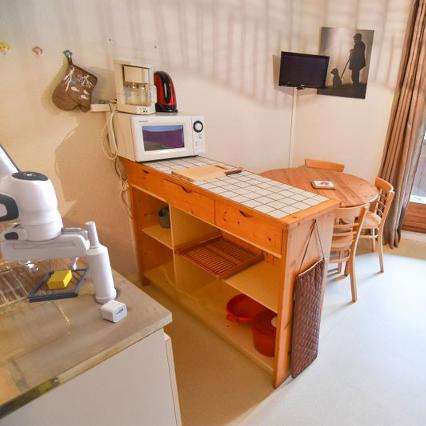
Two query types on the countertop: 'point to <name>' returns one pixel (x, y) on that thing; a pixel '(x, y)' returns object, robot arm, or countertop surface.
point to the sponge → (59, 279)
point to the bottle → (99, 267)
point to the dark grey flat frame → (55, 297)
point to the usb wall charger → (113, 311)
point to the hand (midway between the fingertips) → (53, 270)
